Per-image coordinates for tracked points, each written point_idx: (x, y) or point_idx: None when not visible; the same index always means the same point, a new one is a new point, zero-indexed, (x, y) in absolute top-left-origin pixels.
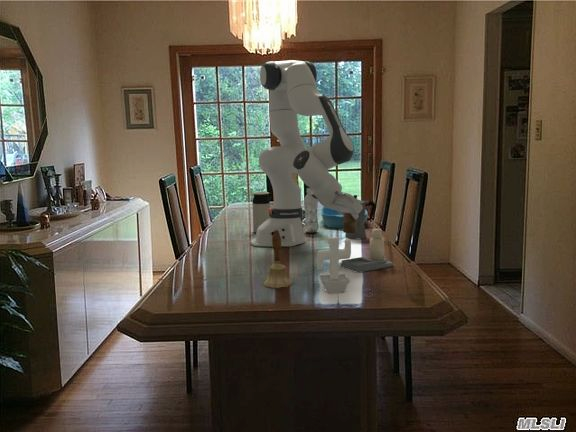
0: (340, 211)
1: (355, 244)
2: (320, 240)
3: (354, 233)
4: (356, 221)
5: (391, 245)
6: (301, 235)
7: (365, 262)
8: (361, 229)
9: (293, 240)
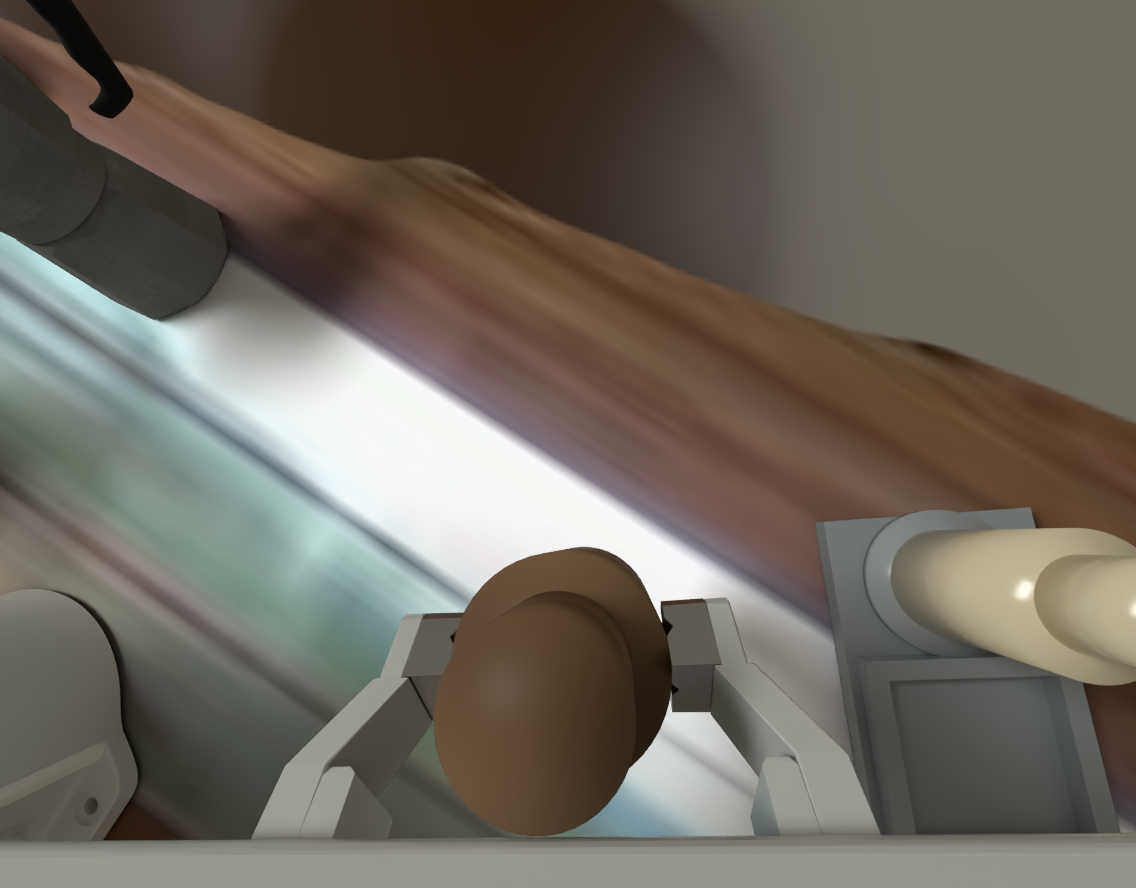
0: (395, 757)
1: (334, 366)
2: (109, 493)
3: (174, 271)
4: (627, 569)
5: (481, 198)
6: (39, 674)
7: (945, 681)
8: (168, 211)
9: (82, 764)
